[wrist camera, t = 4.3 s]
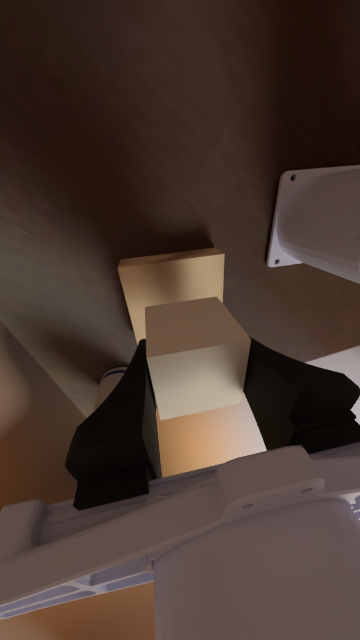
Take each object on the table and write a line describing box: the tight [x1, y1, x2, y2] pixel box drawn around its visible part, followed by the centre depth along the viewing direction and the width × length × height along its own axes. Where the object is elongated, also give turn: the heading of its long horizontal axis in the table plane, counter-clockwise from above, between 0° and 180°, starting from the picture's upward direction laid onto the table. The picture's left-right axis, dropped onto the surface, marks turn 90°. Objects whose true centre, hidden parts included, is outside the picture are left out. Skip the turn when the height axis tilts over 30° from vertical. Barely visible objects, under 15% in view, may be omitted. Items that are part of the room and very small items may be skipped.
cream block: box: [145, 296, 251, 420], centre depth 12 cm, size 5×5×5 cm
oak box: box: [118, 248, 224, 344], centre depth 20 cm, size 9×9×3 cm
